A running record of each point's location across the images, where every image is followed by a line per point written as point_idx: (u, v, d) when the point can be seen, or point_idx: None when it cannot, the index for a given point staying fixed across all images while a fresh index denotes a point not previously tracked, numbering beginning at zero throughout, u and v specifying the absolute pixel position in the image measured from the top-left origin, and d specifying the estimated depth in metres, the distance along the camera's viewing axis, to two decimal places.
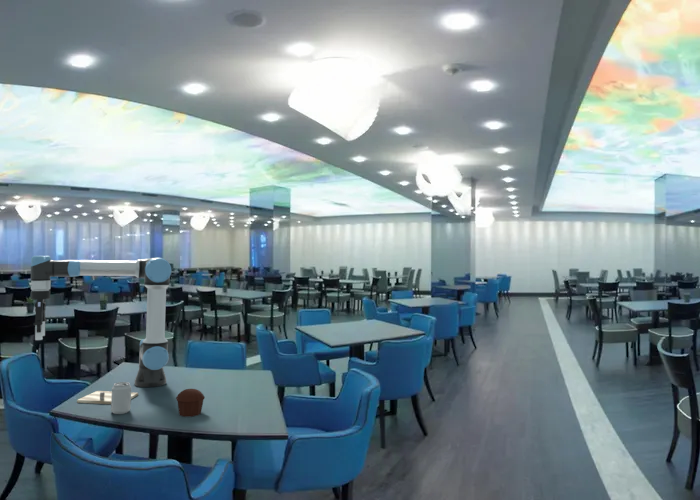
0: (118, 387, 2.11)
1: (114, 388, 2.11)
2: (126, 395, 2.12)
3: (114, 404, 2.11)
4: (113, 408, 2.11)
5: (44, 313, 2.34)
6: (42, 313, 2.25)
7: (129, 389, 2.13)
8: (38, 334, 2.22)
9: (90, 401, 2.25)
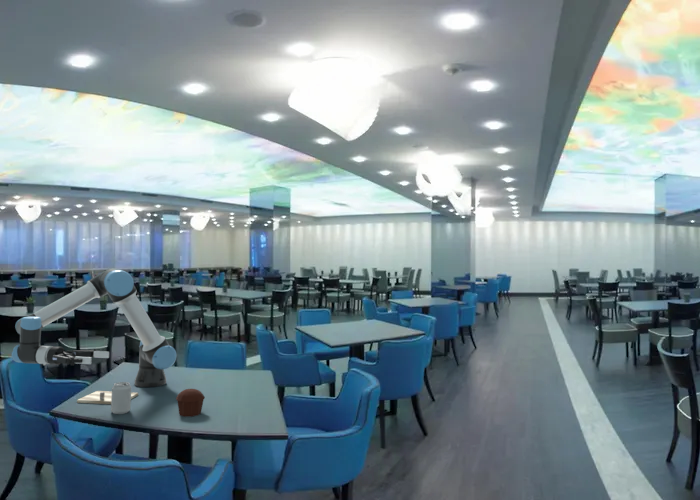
0: (118, 387, 2.11)
1: (114, 388, 2.11)
2: (126, 395, 2.12)
3: (114, 404, 2.11)
4: (113, 408, 2.11)
5: (83, 351, 2.21)
6: (66, 355, 2.11)
7: (129, 389, 2.13)
8: (84, 360, 2.08)
9: (90, 401, 2.25)
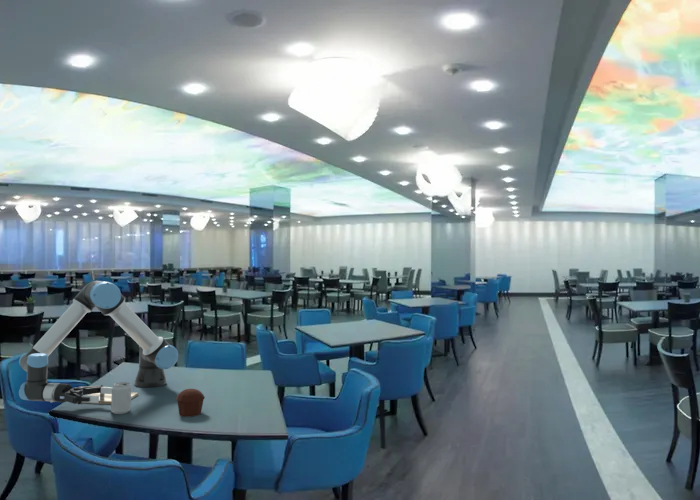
0: (118, 387, 2.11)
1: (114, 388, 2.11)
2: (126, 395, 2.12)
3: (114, 404, 2.11)
4: (113, 408, 2.11)
5: (91, 387, 2.20)
6: (74, 394, 2.10)
7: (129, 389, 2.13)
8: (92, 399, 2.07)
9: None
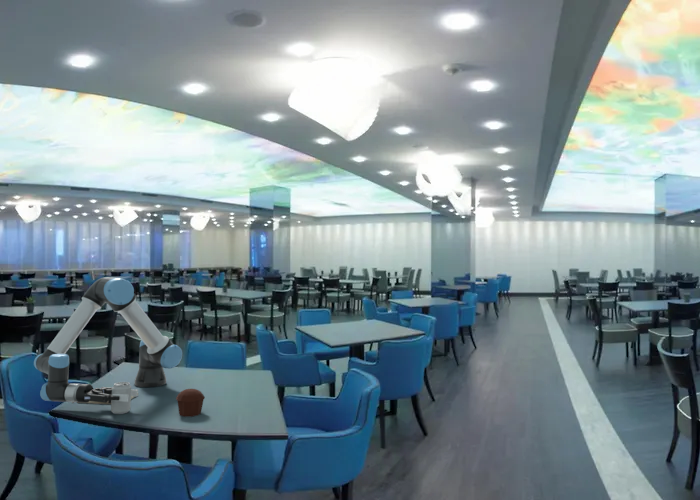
0: (118, 387, 2.11)
1: (114, 388, 2.11)
2: None
3: (114, 404, 2.11)
4: (113, 408, 2.11)
5: None
6: (100, 393, 2.11)
7: (129, 389, 2.13)
8: (121, 398, 2.10)
9: (90, 401, 2.25)
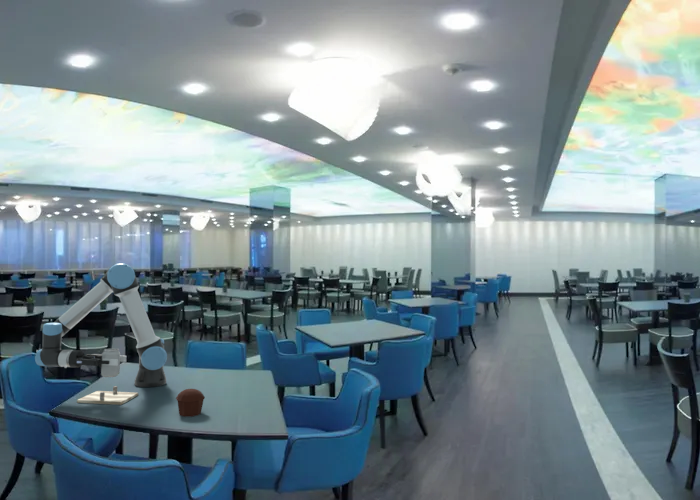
0: (107, 352, 2.28)
1: (104, 353, 2.28)
2: None
3: (104, 368, 2.28)
4: (103, 372, 2.28)
5: None
6: (91, 358, 2.28)
7: (118, 354, 2.31)
8: (111, 362, 2.27)
9: (90, 401, 2.25)
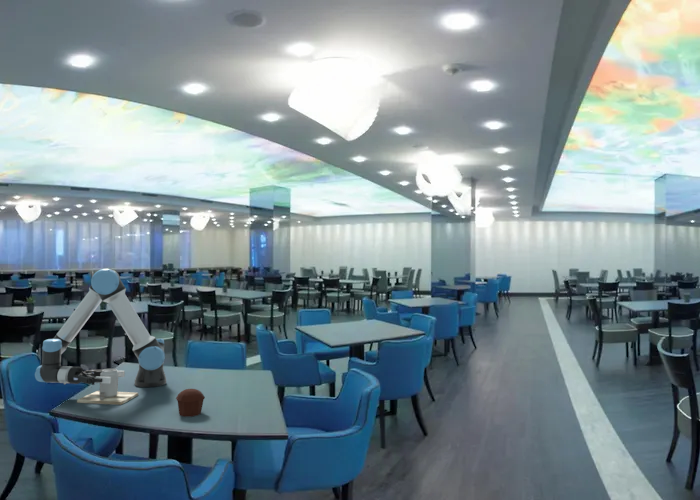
0: (105, 372, 2.30)
1: (102, 374, 2.30)
2: (113, 381, 2.31)
3: (102, 388, 2.29)
4: None
5: (101, 371, 2.39)
6: (87, 375, 2.29)
7: (116, 375, 2.32)
8: (104, 380, 2.26)
9: (90, 401, 2.25)
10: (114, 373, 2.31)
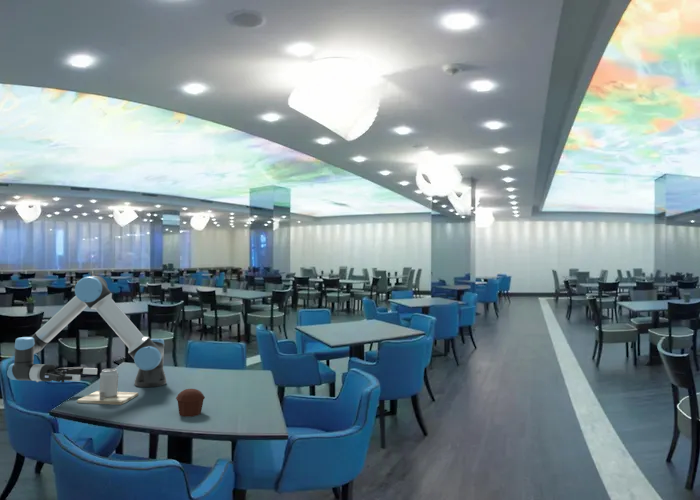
0: (105, 373, 2.30)
1: (102, 374, 2.30)
2: (113, 381, 2.31)
3: (102, 388, 2.29)
4: None
5: (74, 368, 2.40)
6: (57, 373, 2.29)
7: (116, 375, 2.32)
8: (74, 378, 2.27)
9: (90, 401, 2.25)
10: (114, 373, 2.31)
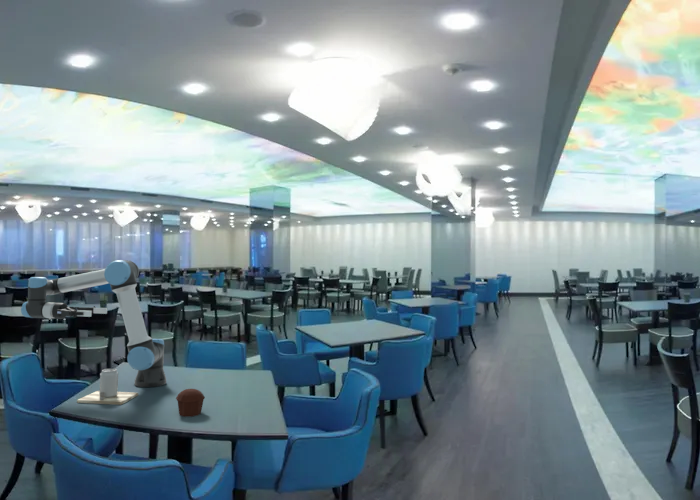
0: (105, 373, 2.30)
1: (102, 374, 2.30)
2: (113, 381, 2.31)
3: (102, 388, 2.29)
4: None
5: (84, 307, 2.49)
6: (69, 309, 2.39)
7: (116, 375, 2.32)
8: (85, 313, 2.36)
9: (90, 401, 2.25)
10: (114, 373, 2.31)
